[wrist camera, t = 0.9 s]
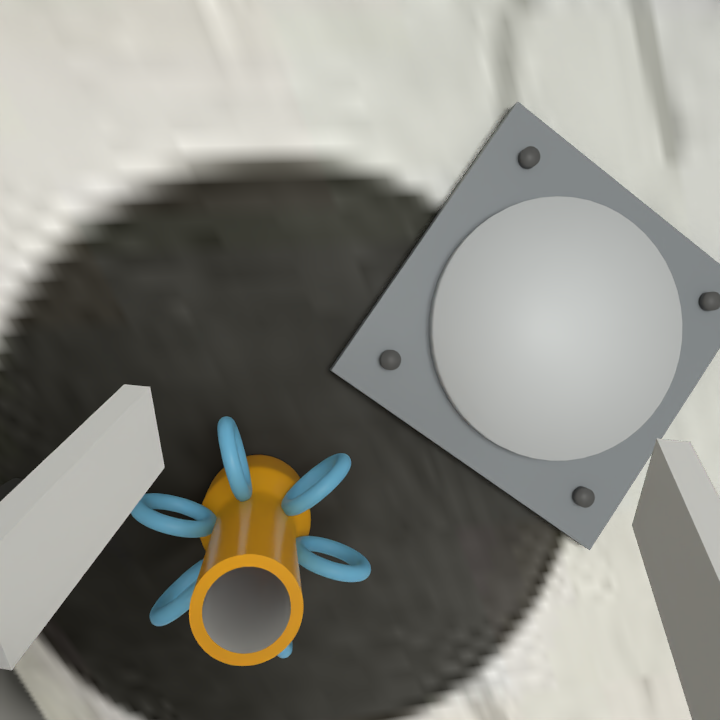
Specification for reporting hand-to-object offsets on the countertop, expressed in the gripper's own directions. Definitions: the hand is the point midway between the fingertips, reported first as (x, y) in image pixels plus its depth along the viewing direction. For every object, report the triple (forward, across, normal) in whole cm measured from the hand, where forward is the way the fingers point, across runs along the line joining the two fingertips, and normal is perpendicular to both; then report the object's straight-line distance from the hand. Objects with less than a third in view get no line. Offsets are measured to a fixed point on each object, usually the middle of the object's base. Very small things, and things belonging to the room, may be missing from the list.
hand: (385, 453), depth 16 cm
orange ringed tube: (+14, -9, -15) cm, 23 cm away
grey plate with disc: (+24, +7, -7) cm, 26 cm away
